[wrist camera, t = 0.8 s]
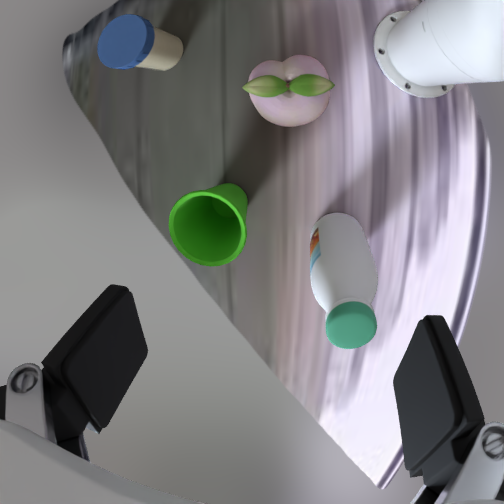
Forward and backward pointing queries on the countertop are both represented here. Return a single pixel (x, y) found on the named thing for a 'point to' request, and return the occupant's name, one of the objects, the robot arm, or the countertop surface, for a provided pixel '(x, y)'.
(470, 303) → the countertop surface
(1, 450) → the robot arm
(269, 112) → the decorative fruit
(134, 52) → the jar lid
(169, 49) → the jar
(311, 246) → the milk bottle
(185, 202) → the cup
